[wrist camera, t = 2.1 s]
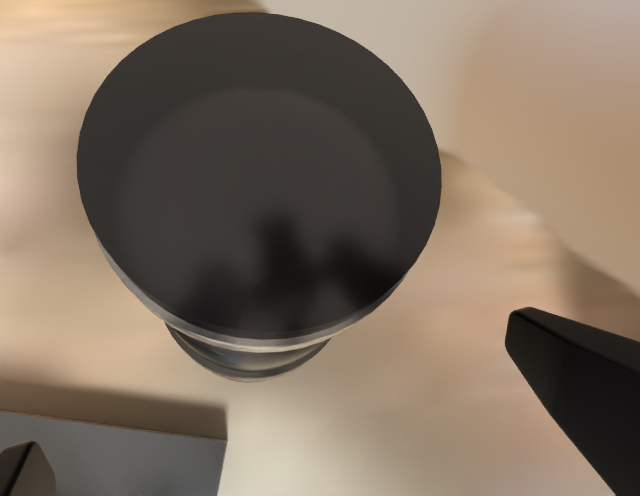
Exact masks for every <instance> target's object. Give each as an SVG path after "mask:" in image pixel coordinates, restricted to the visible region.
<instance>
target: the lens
mask: <svg viewBox="0 0 640 496" xmlns="http://www.w3.org/2000/svg"><path fill="white" fill-rule="evenodd" d="M77 178H78V183H79V189H80V194H81V199H82V203H83V205H84V208H85V211H86V214H87V216H88V219H89V222H90V224H91V226H92V228H93V230H94V232H95V234H96V237H97V240H98V243H99V245H100V247H101V249H102V251H103V253H104V255H105V257H106V258H107V260H108V262H109V264H110V266H111V267H112V269H113V270H114V271H115V272H116V274H117V275H118V276H119V278H120V279H121V280H122V282H123V283H124V284H125V285H126V287H127V288H128V289H129V290H130V291H131V292H132V293H133V294H134V295H135V296H136V297H137V298H138V299H139V300H140V301H141V302H142V303H143V304H144V305H145V306H146V307H147V308H148V309H149V310H150V311H151V312H152V313H153V314H155V315H156V316H157V317H159V318H160V319H161V320H163V321H164V322H165V324H166V326H167V328H168V330H169V331H170V333H171V335H172V336H173V338H174V339H175V340H176V342H177V343H178V344H179V346H180V347H181V348H182V349H183V350H184V351H185V352H186V353H187V354H188V355H189V356H190V357H191V358H192V359H193V360H194V361H195V362H197V363H198V364H200V365H201V366H202V367H204V368H205V369H207V370H209V371H211V372H212V373H214V374H217V375H219V376H221V377H224V378H227V379H230V380H234V381H238V382H259V381H264V380H268V379H273V378H276V377H279V376H282V375H285V374H287V373H289V372H291V371H293V370H295V369H296V368H298V367H299V366H301V365H302V364H304V363H305V362H306V361H308V360H309V359H311V358H312V357H313V356H314V355H316V354H317V353H318V352H319V351H320V350H321V349H322V348H323V347H324V346H325V345H326V344H327V342H328V341H329V340H330V339H331V337H333V336H336V335H338V334H340V333H342V332H344V331H345V330H347V329H348V328H350V327H351V326H353V325H354V324H356V323H357V322H359V321H360V320H362V319H363V318H364V317H366V316H367V315H368V314H370V313H371V312H373V311H374V310H375V309H376V308H377V307H378V306H379V305H380V304H382V303H383V302H384V301H385V300H386V299H387V298H388V297H389V296H390V295H391V294H392V293H393V291H394V290H395V289H396V288H397V287H398V285H399V284H400V283H401V282H402V281H403V279H404V277H405V276H406V274H407V273H408V271H409V269H410V268H411V267H412V266H413V265H414V263H415V262H416V260H417V259H418V257H419V255H420V254H421V252H422V251H423V249H424V247H425V246H426V244H427V241H428V239H429V237H430V234H431V232H432V230H433V227H434V225H435V221H436V217H437V213H438V210H439V205H440V196H441V187H442V185H441V164H440V159H439V153H438V147H437V144H436V141H435V138H434V134H433V131H432V128H431V126H430V124H429V122H428V120H427V117H426V115H425V113H424V111H423V109H422V108H421V106H420V104H419V103H418V101H417V100H416V98H415V96H414V95H413V94H412V92H411V91H410V90H409V88H408V87H407V86H406V85H405V83H404V82H403V81H402V79H401V78H400V77H399V76H398V75H397V74H396V73H394V71H393V70H392V69H391V68H390V67H389V66H388V65H387V64H385V63H384V62H383V61H382V60H381V59H379V58H378V57H377V56H376V55H375V54H373V53H372V52H371V51H369V50H368V49H366V48H365V47H363V46H361V45H360V44H358V43H357V42H355V41H354V40H352V39H350V38H348V37H346V36H344V35H342V34H340V33H338V32H336V31H334V30H331V29H329V28H326V27H324V26H321V25H319V24H316V23H312V22H309V21H306V20H302V19H299V18H294V17H288V16H283V15H278V14H267V13H230V14H221V15H214V16H209V17H205V18H200V19H196V20H192V21H189V22H187V23H184V24H181V25H178V26H175V27H173V28H171V29H168V30H166V31H164V32H162V33H160V34H158V35H156V36H154V37H153V38H151V39H150V40H148V41H146V42H145V43H143V44H142V45H140V46H138V47H137V48H136V49H135V50H134V51H132V52H131V53H130V54H129V55H127V56H126V57H125V58H124V59H123V60H122V61H121V62H120V63H119V64H118V65H117V66H116V67H115V68H114V69H113V70H112V71H111V73H110V74H109V75H108V76H107V77H106V79H105V80H104V82H103V83H102V85H101V86H100V87H99V89H98V90H97V92H96V93H95V95H94V97H93V99H92V102H91V104H90V106H89V108H88V110H87V112H86V115H85V118H84V121H83V125H82V128H81V131H80V136H79V143H78V151H77Z"/></svg>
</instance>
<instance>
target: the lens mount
mask: <svg viewBox="0 0 640 496" xmlns="http://www.w3.org/2000/svg"><path fill="white" fill-rule="evenodd" d="M29 440H34V441H36V442H38V443H39V445H40V446H41V448H42V450H43V452H44V454H45V456H46V458H47V460H48V462H49V463H50V465H51V467H52V469H53V471H54V474H55V479H56V492H55V496H217V494H218V489H219V484H220V478H221V473H222V468H223V463H224V458H225V452H226V447H227V442H228V440H222V439H214V438H207V437H200V436H192V435H185V434H177V433H170V432H162V431H155V430H147V429H140V428H133V427H125V426H118V425H110V424H103V423H95V422H88V421H80V420H73V419H65V418H58V417H51V416H43V415H36V414H28V413H21V412H13V411H6V410H0V452H1V451H2V450H4V449H5V448H6V447H8V446H11V445H15V444H18V443H22V442H26V441H29Z"/></svg>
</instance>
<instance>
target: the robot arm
mask: <svg viewBox="0 0 640 496" xmlns="http://www.w3.org/2000/svg"><path fill="white" fill-rule="evenodd" d="M505 347H506V350H507V352H508V354H509V356H510V357H511V358H512V360H513V361H514V363H515V364H516V366H517V367H518V369H519V370H520V372H521V373H522V375H523V376H524V378H525V379H526V381H527V382H528V384H529V385H530V387H531V388H532V389H533V391H534V392H535V394H536V395H537V397H538V398H539V400H540V401H541V403H542V404H543V406H544V407H545V408H546V410H547V411H548V413H549V414H550V415H551V417H552V418H553V419H554V420H555V422H556V423H557V424H558V425H559V427H560V428H561V429H562V430H563V432H564V433H565V434H566V435H567V436H568V438H569V439H570V440H571V441H572V443H573V444H574V445H575V446H576V447H577V449H578V450H579V451H580V452H581V453H582V455H583V456H584V457H585V458H586V460H587V461H588V462H589V463H590V464H591V466H592V467H593V468H594V469H595V470H596V472H597V473H598V474H599V475H600V477H601V478H602V479H603V480H604V481H605V483H606V484H607V485H608V486H609V488H610V489H611V490H612V491H613V492H614V494H615V495H616V496H640V342H638V341H635V340H632V339H629V338H626V337H623V336H619V335H616V334H613V333H610V332H607V331H604V330H601V329H598V328H595V327H592V326H588V325H585V324H582V323H579V322H576V321H573V320H570V319H567V318H564V317H561V316H558V315H554V314H551V313H548V312H545V311H542V310H539V309H536V308H533V307H525V308H521V309H518V310H514V311H512V312H511V314H510V315H509V319H508V325H507V331H506V337H505ZM55 492H56V479H55V474H54V471H53V469H52V467H51V465H50V463H49V462H48V460H47V458H46V456H45V454H44V452H43V450H42V448H41V446H40V445H39V443H38V442H36V441H34V440H29V441H26V442H22V443H18V444H15V445H11V446H8V447H6V448H5V449H4V450H2V451H1V452H0V496H55Z"/></svg>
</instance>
